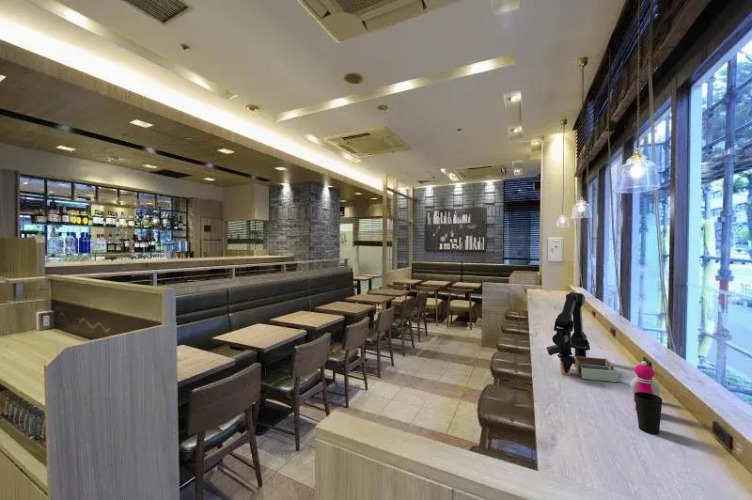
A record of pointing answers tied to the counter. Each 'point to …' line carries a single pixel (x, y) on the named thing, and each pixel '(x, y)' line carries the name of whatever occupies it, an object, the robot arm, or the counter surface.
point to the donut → (654, 387)
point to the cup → (648, 412)
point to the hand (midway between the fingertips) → (565, 371)
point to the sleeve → (591, 362)
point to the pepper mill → (644, 378)
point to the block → (563, 370)
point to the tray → (598, 373)
